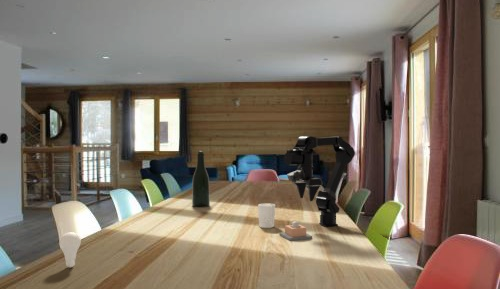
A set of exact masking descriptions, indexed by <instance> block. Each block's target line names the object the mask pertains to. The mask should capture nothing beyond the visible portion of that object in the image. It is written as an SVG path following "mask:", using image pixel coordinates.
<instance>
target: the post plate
mask: <svg viewBox="0 0 500 289" xmlns="http://www.w3.org/2000/svg"><path fill="white" fill-rule="evenodd" d="M299 223H300V222H299V221H292V224H291V225H292V228H298V227H299V225H300V224H299ZM278 235H279V236H280V237H282V238H283V239H285V240H287V241H289V242H292V241H301V240H302V241H303V240H313V235H311V234H308V233H307V232H306V236H296V237H291V236H289V235H287V234H285V231H283V232H279V234H278Z"/></svg>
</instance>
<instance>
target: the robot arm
mask: <svg viewBox="0 0 500 289" xmlns="http://www.w3.org/2000/svg"><path fill="white" fill-rule="evenodd" d="M320 146H321V147H322V146H332V149H333V150H332V151H334V152H335V155H334V157H335V164H334V166H333V169H332V171H331V173H330V176H329V178H328V181H327V183H326V186H325V188H324V189H323V190H319V189H320V188H321V186H323V180H322V179H321V178H320V177H315V176H314V174H313V173H314V172H313V170H315V166H313V155H317V152H316V151H315V150H314V149H316V148H318V147H320ZM355 155H356V151H355V149H354V147H352V146H351V144H350V143H349V142H347V141H345V140H344V138H342V137H341V136H340V135H337V136H335V135H334V136H333V135H332V136H325V137H316V136H309V135H307V136H303V135H301V136H299V137H298V138H297V141H296V143H295V144H294V147H293V148H292V149H286V152H285V154H284V157H283V162H284V164H285V165H286V166H297V167H296V170H295V171H292V172H289V173H287V174H286V176H287V179H288V182H291V183H292V184H293V185H295V186H296V188H297V192H298V195H299V198H300V199H303V198H304V195H305V191H306V188H307V190H308V198H309V201H310V202H313V201H314V199H315V203H316V204H315V205H316V206H317V209H318V212H320V215H319V223H318V224H319V225H321V226H323V227H336V226H337V227H338V226H339V224H338V223H337V213H339V212H340V207H339V206H338V204H337V203H336V201H337V196H336V192H337V189H338V187H339V184H340V182H341V179H342V176H343V174H344V171H345V170H346V166H347V165H348V164H350V163H351V162H352V160H353V159H354V157H355ZM316 195H317V196H316Z"/></svg>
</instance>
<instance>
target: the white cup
mask: <svg viewBox="0 0 500 289" xmlns="http://www.w3.org/2000/svg"><path fill="white" fill-rule="evenodd" d="M257 213H258V225H259V226H258V227H259V228H262V229H272V228H274V227H275V220H276V219H275V218H276V217H275V215H276V204H275V203H269V202H267V203H264V202H263V203H259V204H257Z"/></svg>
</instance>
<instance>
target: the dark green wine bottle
mask: <svg viewBox="0 0 500 289" xmlns="http://www.w3.org/2000/svg"><path fill="white" fill-rule="evenodd" d="M205 164H206V163H205V153H204V151H202V150H199V151H197V153H196V168H195V171H194V173H193V177H192V186H191V187H192V190H191V198H192V199H191V203H192V204H191V205H192V206H193V207H196V208H205V207H209V206H210V203H211V202H210V201H211V197H210V193H211V192H210V177H209V174H208V171H207V169H206V166H205Z"/></svg>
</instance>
